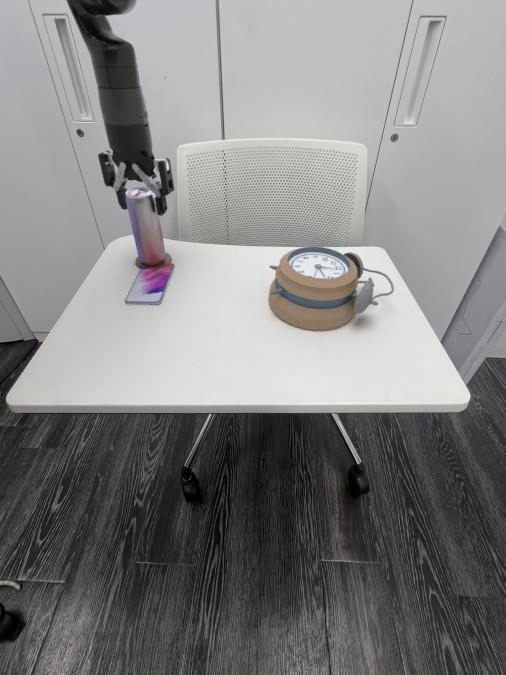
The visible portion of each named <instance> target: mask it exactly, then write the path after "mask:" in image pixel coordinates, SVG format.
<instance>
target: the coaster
mask: <svg viewBox="0 0 506 675" xmlns="http://www.w3.org/2000/svg"><path fill="white" fill-rule="evenodd" d="M165 253H166V257H165V260H164V261H163V262H162V263H160V264H157V265H145V264H143V263H142V262H141V261H140V260H139V257H138V256H137V257H136V258H135V260H134V262H135V263H134V264H135V266H136V267H137V268H138V269H139V270H140V269H141V268H144V269H156V268H160V267H163V266H165V265H166V264H168V263H172V255H170V253H168V252H166V251H165Z"/></svg>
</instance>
